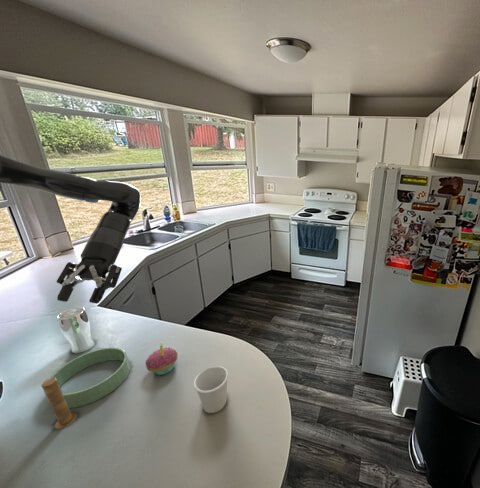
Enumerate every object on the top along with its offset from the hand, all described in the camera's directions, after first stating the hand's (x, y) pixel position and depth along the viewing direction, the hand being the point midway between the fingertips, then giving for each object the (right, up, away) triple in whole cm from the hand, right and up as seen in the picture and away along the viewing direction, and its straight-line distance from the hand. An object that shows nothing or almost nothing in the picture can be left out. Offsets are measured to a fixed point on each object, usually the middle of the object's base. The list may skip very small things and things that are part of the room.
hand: (77, 302), depth 65 cm
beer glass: (-20, -22, +22) cm, 37 cm away
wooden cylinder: (-2, -31, -1) cm, 31 cm away
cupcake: (+13, -26, +15) cm, 33 cm away
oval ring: (-5, -27, +10) cm, 29 cm away
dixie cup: (+34, -30, +5) cm, 46 cm away
